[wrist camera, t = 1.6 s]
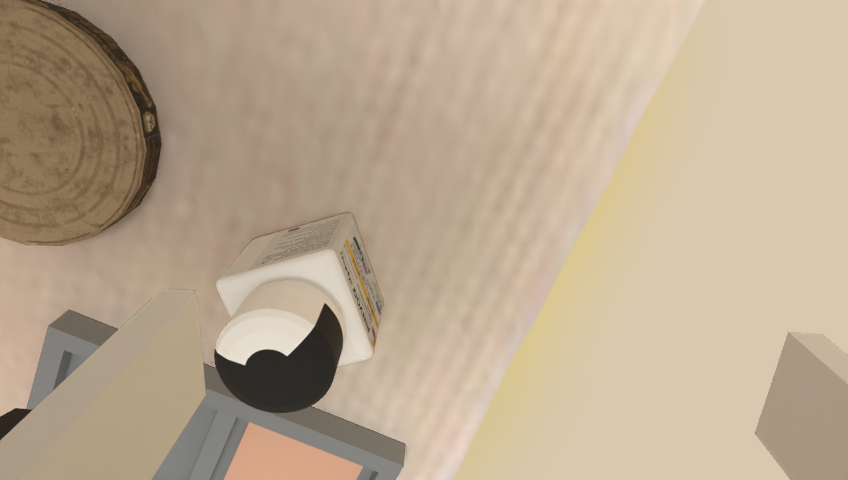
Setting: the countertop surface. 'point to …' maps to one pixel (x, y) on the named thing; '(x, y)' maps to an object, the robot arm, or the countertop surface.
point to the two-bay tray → (234, 426)
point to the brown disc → (69, 127)
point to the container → (296, 314)
